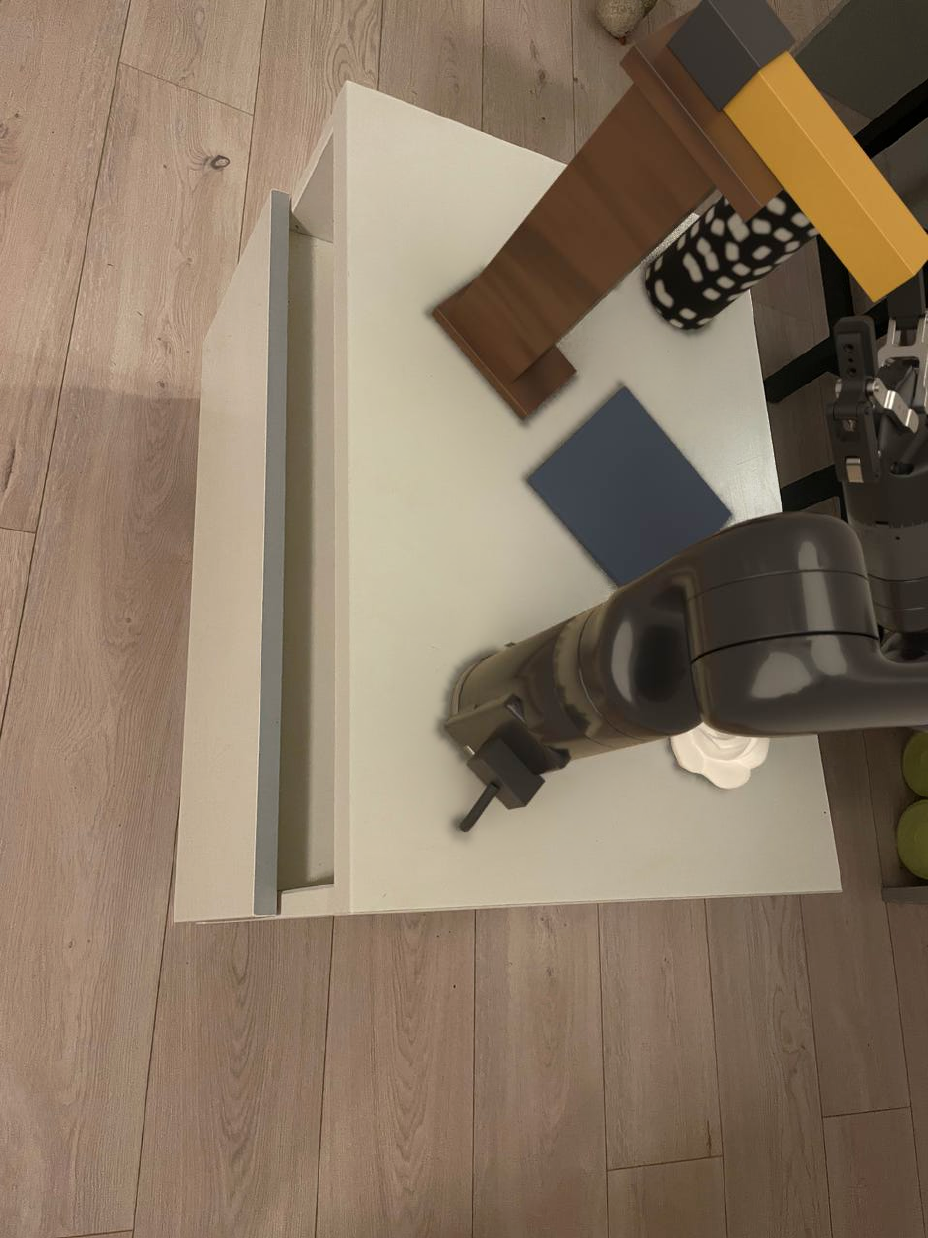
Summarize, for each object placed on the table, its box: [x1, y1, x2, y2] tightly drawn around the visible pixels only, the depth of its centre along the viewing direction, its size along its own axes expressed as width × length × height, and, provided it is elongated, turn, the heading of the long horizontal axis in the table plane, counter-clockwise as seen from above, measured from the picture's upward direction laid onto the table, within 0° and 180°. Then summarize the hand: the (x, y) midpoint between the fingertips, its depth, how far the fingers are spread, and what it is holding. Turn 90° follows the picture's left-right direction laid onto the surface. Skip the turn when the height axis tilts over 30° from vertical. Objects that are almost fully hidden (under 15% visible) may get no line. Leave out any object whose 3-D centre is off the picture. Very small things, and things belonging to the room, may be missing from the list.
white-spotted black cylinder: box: [645, 188, 820, 331], centre depth 86 cm, size 8×8×20 cm
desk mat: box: [526, 385, 733, 588], centre depth 84 cm, size 16×16×1 cm
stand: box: [430, 5, 784, 421], centre depth 69 cm, size 10×12×30 cm
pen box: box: [667, 0, 928, 303], centre depth 56 cm, size 5×20×4 cm, turn 48°
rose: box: [669, 722, 771, 790], centre depth 79 cm, size 10×4×10 cm
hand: (878, 288), depth 59 cm, fingers open, 8 cm apart
